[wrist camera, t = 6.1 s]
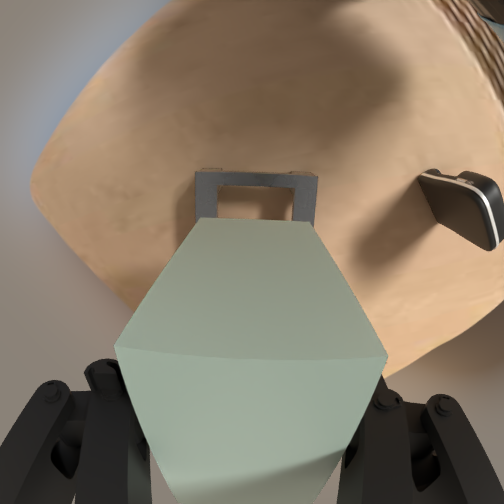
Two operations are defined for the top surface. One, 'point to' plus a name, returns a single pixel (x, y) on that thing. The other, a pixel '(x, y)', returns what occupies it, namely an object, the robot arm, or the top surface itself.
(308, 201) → the keyhole plate
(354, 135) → the top surface
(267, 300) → the pale green boxy piece
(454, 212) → the battery charger
